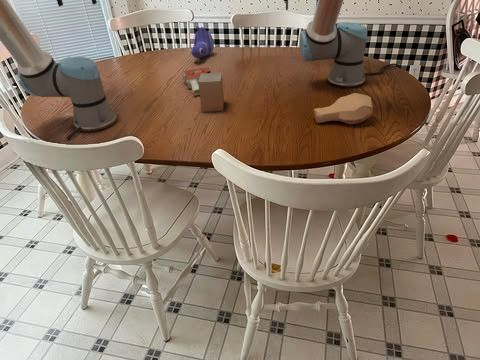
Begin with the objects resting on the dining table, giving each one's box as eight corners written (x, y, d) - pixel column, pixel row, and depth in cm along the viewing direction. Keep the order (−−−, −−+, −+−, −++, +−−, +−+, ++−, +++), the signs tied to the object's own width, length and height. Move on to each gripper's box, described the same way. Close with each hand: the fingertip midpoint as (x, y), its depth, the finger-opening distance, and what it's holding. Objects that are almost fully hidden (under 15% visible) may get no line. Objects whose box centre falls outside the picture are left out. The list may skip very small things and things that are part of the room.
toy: (200, 58, 202) (185, 64, 180) (197, 26, 195) (181, 28, 173) (217, 58, 200) (204, 63, 177) (214, 25, 193) (200, 26, 171)
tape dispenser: (197, 100, 148) (224, 81, 161) (196, 88, 145) (223, 70, 157) (165, 91, 156) (193, 74, 168) (163, 80, 152) (192, 63, 165)
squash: (377, 125, 120) (379, 103, 114) (317, 135, 122) (317, 114, 116) (367, 107, 128) (369, 85, 121) (311, 116, 130) (311, 95, 123)
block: (224, 101, 142) (221, 72, 135) (223, 111, 136) (220, 80, 128) (203, 102, 143) (200, 73, 136) (201, 112, 136) (198, 81, 129)
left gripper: (96, -63, 130) (111, 1, 143) (30, -59, 131) (51, 4, 144) (89, -62, 124) (106, 4, 137) (19, -58, 125) (42, 8, 138)
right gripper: (333, -50, 149) (328, 5, 162) (274, -47, 151) (273, 8, 163) (336, -49, 143) (331, 8, 156) (274, -45, 145) (274, 11, 157)
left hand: (78, 4), depth 140 cm, fingers open, 13 cm apart
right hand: (302, 8), depth 160 cm, fingers open, 13 cm apart
